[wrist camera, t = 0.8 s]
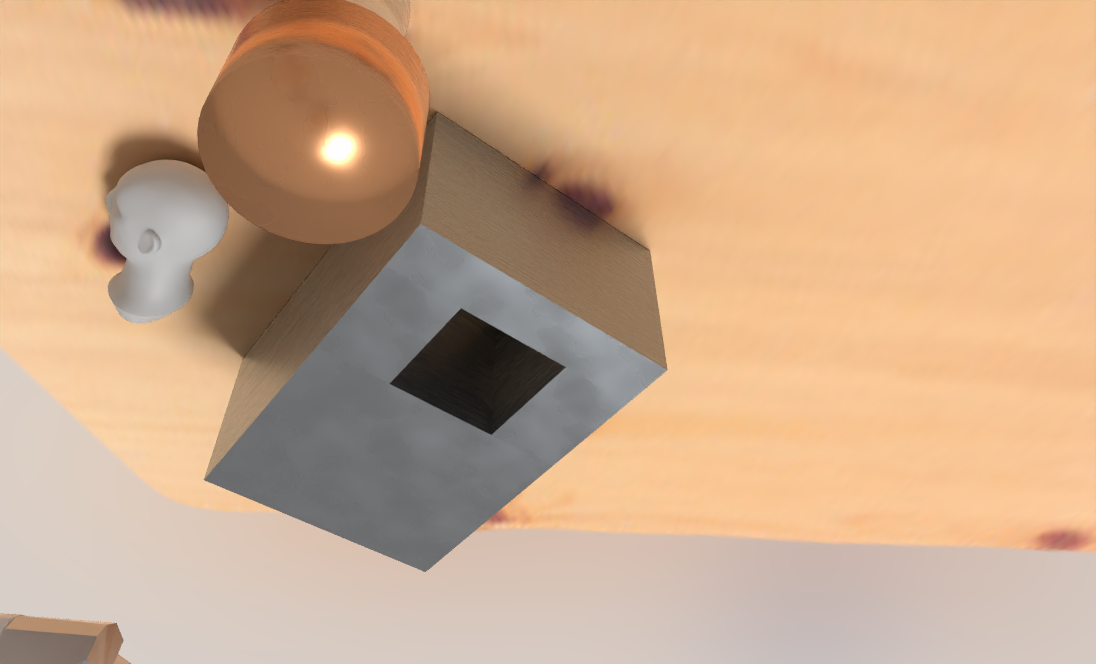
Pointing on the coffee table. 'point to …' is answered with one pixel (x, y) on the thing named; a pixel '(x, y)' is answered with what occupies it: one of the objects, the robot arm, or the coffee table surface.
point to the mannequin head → (161, 235)
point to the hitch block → (442, 359)
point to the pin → (318, 119)
